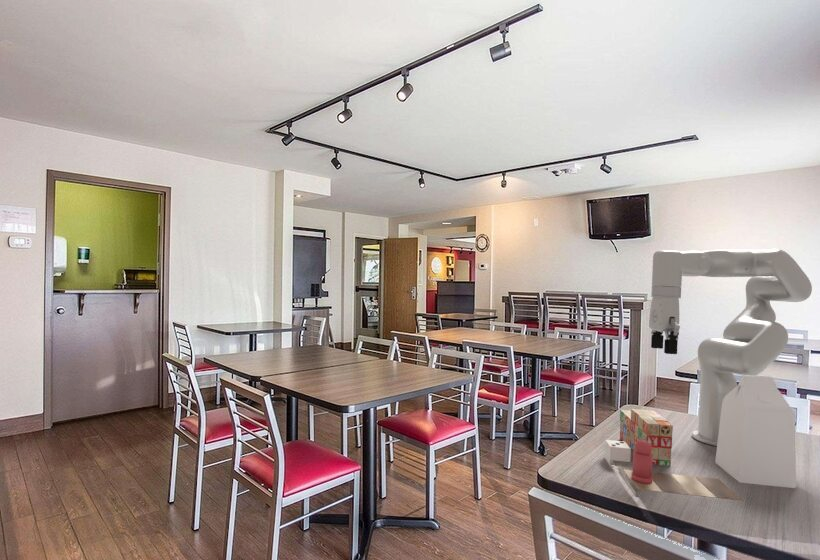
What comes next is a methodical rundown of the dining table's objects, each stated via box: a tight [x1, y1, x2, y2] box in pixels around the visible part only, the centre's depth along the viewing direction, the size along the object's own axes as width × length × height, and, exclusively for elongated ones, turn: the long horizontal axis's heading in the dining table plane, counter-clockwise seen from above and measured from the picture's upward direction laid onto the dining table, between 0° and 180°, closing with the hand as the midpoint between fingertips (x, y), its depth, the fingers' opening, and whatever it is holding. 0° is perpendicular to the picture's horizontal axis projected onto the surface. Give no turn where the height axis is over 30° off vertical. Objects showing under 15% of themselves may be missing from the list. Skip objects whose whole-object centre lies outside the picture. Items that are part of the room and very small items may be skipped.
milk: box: [714, 375, 797, 489], centre depth 110 cm, size 12×12×26 cm
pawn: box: [631, 440, 653, 484], centre depth 105 cm, size 4×4×9 cm
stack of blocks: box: [619, 408, 674, 467], centre depth 124 cm, size 21×6×12 cm, turn 171°
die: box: [604, 439, 632, 467], centre depth 118 cm, size 5×5×5 cm
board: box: [618, 468, 744, 501], centre depth 103 cm, size 23×12×1 cm, turn 81°
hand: (663, 350), depth 130 cm, fingers open, 9 cm apart
